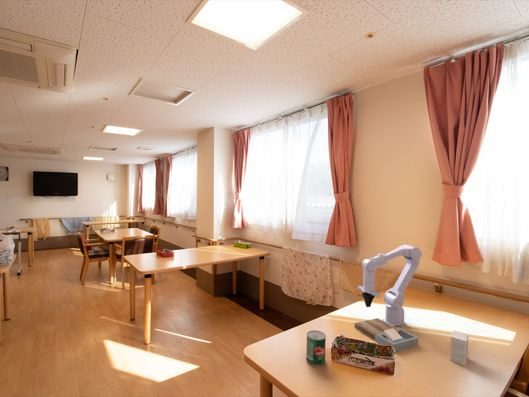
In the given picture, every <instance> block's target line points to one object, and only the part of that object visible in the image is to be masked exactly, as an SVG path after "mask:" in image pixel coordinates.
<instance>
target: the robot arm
mask: <svg viewBox="0 0 529 397" xmlns="http://www.w3.org/2000/svg"><path fill="white" fill-rule="evenodd" d="M422 255H423V254H422V251H421V249H420V248H419V247H417V246H413V245H409V244H408V243H405V244H403V245H399V247H397V248H395V249H393V250H391V251H389V252H387V253H385V254H384V253H377V255H376V256H373V257H370V258H365V259H364V260H363V261H362V263H361V267H362V269H363V277H362V278H363V280H362V282H363V283H362V285H357V290H359V291H361V292H362V293H361V295H362V297H363V300H364V303H365V307H366V308H370V307H371V306H372V303H373V300H374V299H375V298H376V299H380V298H381V293H379V292H378V291H376V290H375V276H376V275H375V272H376V270H377V269H379V267H382V266H384V265H387V264H388V263H389V261H390V260H393V259H396V258H398V257H401V256H402V257H403V258H404V259H405V260H406V261H405V262H406V264H405V266H404V268H402V271H401V273H400V274H399V276H398V278H397V280H396V282H395V283H394V285H393V286H392V287H391V288H388V290H387V291H386V292H385V293H384V294H383V301H384V302H385V318H383V319H381V320H382V321H384V322H386V323H388V324H389V325H391V326H393V327H397V326H401V325H405V324H406V322H405V309H404V307H403V305H404V302H405V301H404V300H405V299H406V298H405V294H404V293H405V291H406V289H407V287H408V285H409V283H410V282H411V280H412V279H413V276H414V275H415V273H416V271H417V270H418V268H419V265H420V261H421V260H420V259H421V258H422Z"/></svg>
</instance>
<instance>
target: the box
mask: <svg viewBox="0 0 529 397" xmlns="http://www.w3.org/2000/svg"><path fill="white" fill-rule="evenodd" d="M395 331H396V332H397V333H398V334H399V335H400V336H401V337H402V341H399V342H395V343H393V342H391V341H389V340H388V339H387V337H386V336H385V335H384V334H377V335H375V340H374V341H375V342H377V343H378V344H379V345H381V344H382V345H381V346H383V345H392V346H393V348H394V349H395V352H394V353H396V352H400V351H403V350H406V349H410V348H413V347H417V346H419V337H418V336H416V335H414V334H412V333H410V332H408V331H406V330H404V329H402V328H399V330H395Z"/></svg>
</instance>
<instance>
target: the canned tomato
mask: <svg viewBox="0 0 529 397" xmlns="http://www.w3.org/2000/svg"><path fill="white" fill-rule="evenodd" d="M326 337H327V336H326V334H325V333H324V332H323V331H320V330H309V331H308V332H307V333H306V353H305V354H306V358H305V360H306V363H307V364H309V365H312V366H315V367H321V366H324V365H325V363H326Z"/></svg>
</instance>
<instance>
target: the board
mask: <svg viewBox="0 0 529 397" xmlns="http://www.w3.org/2000/svg"><path fill="white" fill-rule="evenodd" d="M392 328H394V329H395V330H399V329H400V328H399V329H398V328H397V327H396V326H391V325H389V324H388V323H386V322H384V321H382V319H380V318H373V319H368V320H362V321H358V322H354V329H356V330H358V331H359V332H361V333H362V334H364V335H365V336H367V338H371V340H373V341H375V335H377V334H383V332H384V330H388V329H392Z"/></svg>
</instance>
